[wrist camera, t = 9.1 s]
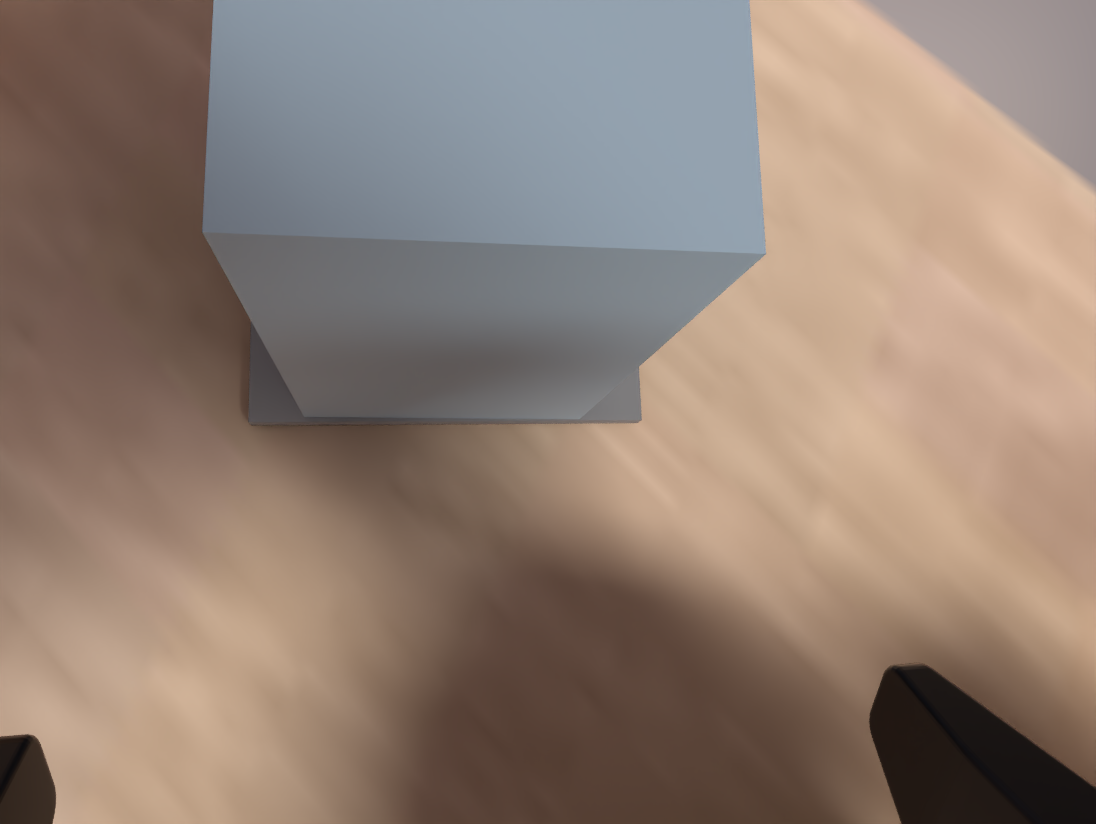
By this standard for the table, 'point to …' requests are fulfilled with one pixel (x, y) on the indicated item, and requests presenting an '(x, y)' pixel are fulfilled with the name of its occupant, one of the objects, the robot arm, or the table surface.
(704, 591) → the table surface
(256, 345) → the pad
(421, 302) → the grey rectangular block
